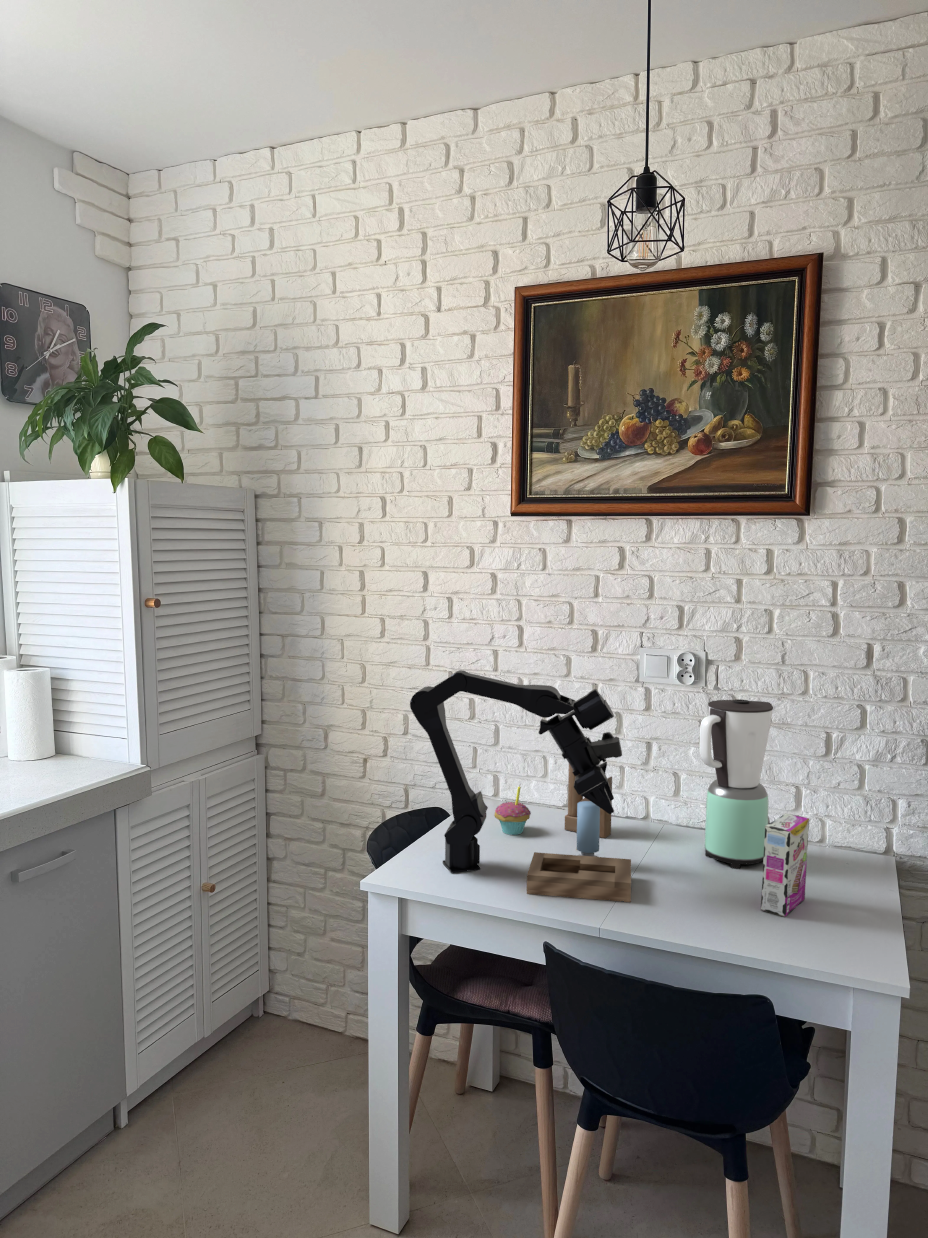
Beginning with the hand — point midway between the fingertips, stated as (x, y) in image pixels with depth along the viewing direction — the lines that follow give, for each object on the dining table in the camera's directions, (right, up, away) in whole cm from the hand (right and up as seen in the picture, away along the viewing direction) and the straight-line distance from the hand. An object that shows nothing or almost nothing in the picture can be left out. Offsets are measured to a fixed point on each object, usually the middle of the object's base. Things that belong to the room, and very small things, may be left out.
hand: (612, 806), depth 178 cm
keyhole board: (-7, -15, -3) cm, 17 cm away
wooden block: (-1, -13, +29) cm, 32 cm away
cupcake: (-19, -13, +30) cm, 37 cm away
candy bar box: (+31, -16, -12) cm, 37 cm away
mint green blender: (+28, -14, +12) cm, 34 cm away
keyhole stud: (-4, -14, +9) cm, 17 cm away
